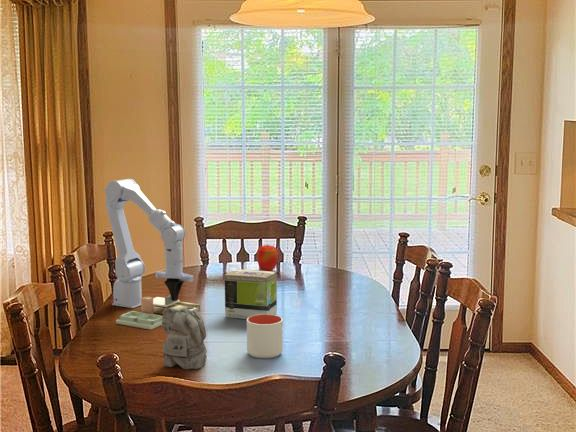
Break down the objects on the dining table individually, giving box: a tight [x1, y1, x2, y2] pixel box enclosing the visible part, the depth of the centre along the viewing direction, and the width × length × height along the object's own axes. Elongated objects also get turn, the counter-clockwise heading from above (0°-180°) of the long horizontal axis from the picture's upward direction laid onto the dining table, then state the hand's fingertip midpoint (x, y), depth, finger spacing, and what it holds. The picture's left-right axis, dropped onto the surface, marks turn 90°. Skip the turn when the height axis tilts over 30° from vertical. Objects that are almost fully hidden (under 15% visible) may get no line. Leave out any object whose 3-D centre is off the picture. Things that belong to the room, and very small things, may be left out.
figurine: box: [161, 308, 208, 370], centre depth 184 cm, size 10×11×15 cm
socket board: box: [115, 310, 163, 331], centre depth 221 cm, size 14×9×2 cm, turn 63°
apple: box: [256, 244, 279, 271], centre depth 294 cm, size 9×9×12 cm
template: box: [153, 301, 201, 315], centre depth 236 cm, size 17×10×2 cm, turn 63°
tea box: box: [224, 268, 278, 320], centre depth 228 cm, size 15×10×15 cm
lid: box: [153, 294, 181, 308], centre depth 237 cm, size 10×8×3 cm
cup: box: [246, 314, 284, 359], centre depth 192 cm, size 10×10×10 cm
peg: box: [140, 296, 155, 314], centre depth 229 cm, size 4×4×6 cm
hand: (174, 300), depth 235 cm, fingers closed
